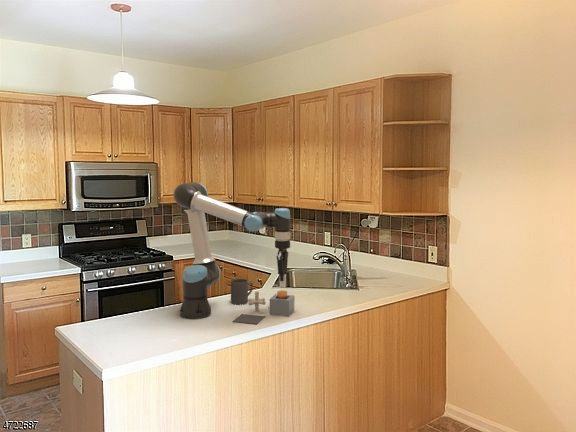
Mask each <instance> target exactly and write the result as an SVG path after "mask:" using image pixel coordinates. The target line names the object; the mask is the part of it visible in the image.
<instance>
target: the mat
mask: <svg viewBox="0 0 576 432" xmlns="http://www.w3.org/2000/svg"><path fill="white" fill-rule="evenodd" d="M265 317H266V316H265V315H258V314H247V313H245V314H244V313H241V314H240V315H238V316H237V317H236V318H234V319H233V320H232V323H235V322H236V323H237V324H238V323H239V324H247V325H256V326H257V325H258V324H260V322H261V321H262V320H263V319H265Z"/></svg>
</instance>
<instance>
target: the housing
mask: <svg viewBox="0 0 576 432" xmlns="http://www.w3.org/2000/svg"><path fill="white" fill-rule="evenodd" d="M295 298H296V297H295V295H294V294H293V295H292V294H287V297H286V298H278V297H277V293H275V294H273V296H272V297H270V298H269V316H277V317H280V316H281V317H290V316H291V315H292V314H293V313H294V312H295V303H296V302H295V300H296V299H295Z"/></svg>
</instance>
